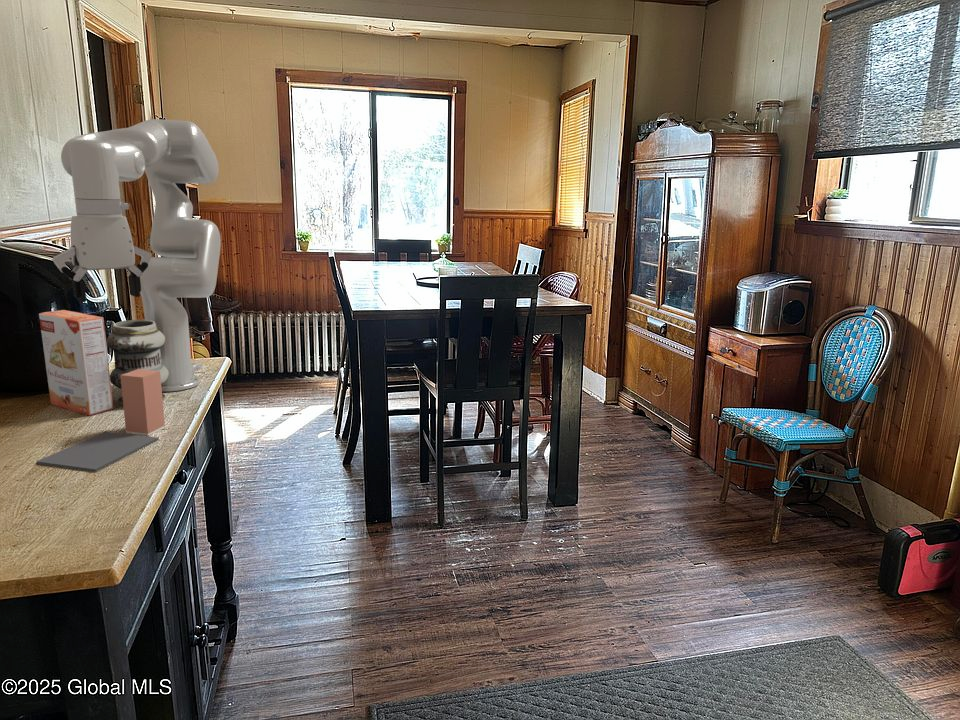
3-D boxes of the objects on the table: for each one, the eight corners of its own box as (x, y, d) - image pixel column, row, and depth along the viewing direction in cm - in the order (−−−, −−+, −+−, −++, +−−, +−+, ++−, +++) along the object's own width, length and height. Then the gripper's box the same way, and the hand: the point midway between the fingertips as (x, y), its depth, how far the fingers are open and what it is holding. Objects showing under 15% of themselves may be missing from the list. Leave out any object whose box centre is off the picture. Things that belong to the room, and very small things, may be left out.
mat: (105, 433, 131) (105, 431, 130) (158, 440, 128) (158, 437, 128) (36, 464, 115) (36, 461, 115) (95, 472, 113) (95, 469, 113)
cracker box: (48, 405, 146) (36, 312, 141) (75, 398, 151) (65, 308, 146) (87, 417, 140) (76, 320, 134) (114, 409, 145) (105, 315, 140)
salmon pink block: (143, 425, 136) (138, 368, 133) (164, 427, 135) (160, 371, 132) (126, 433, 131) (120, 375, 128) (148, 435, 130) (142, 377, 127)
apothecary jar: (133, 410, 144) (124, 330, 140) (101, 401, 150) (91, 323, 146) (182, 397, 154) (175, 321, 150) (149, 388, 160) (142, 315, 156)
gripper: (138, 207, 133) (146, 291, 137) (40, 207, 120) (52, 300, 125) (154, 209, 128) (162, 296, 133) (53, 210, 116) (66, 306, 120)
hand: (109, 298), depth 129 cm, fingers open, 9 cm apart
